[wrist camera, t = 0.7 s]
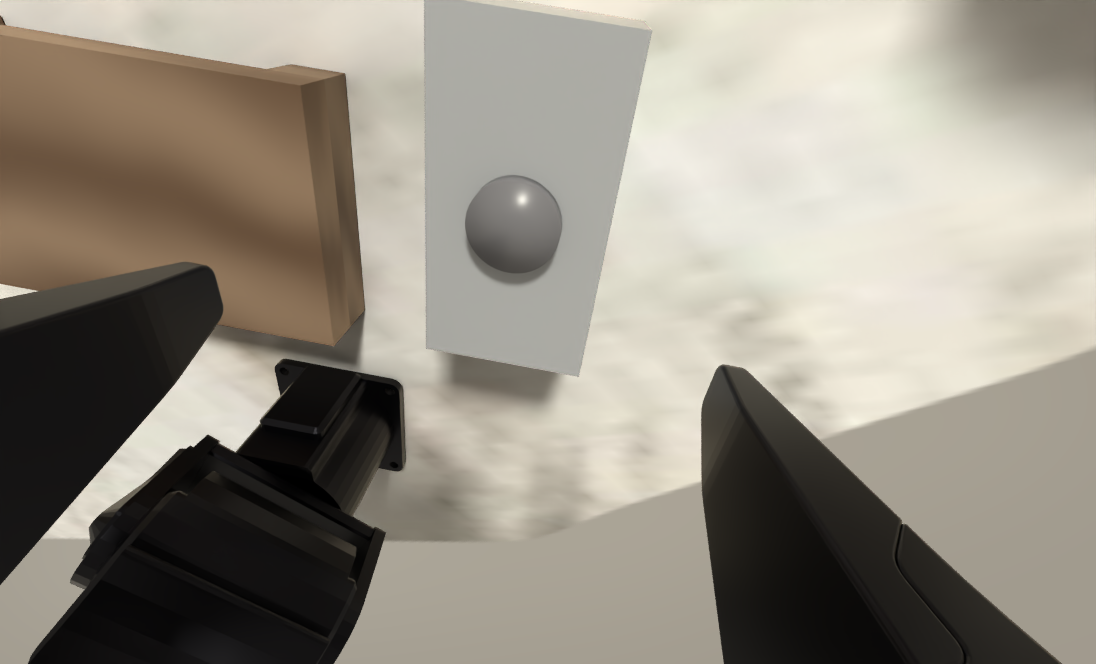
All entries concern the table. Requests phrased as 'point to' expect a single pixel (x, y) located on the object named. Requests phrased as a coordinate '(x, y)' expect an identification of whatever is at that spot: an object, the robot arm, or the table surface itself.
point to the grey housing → (522, 173)
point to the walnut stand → (180, 178)
